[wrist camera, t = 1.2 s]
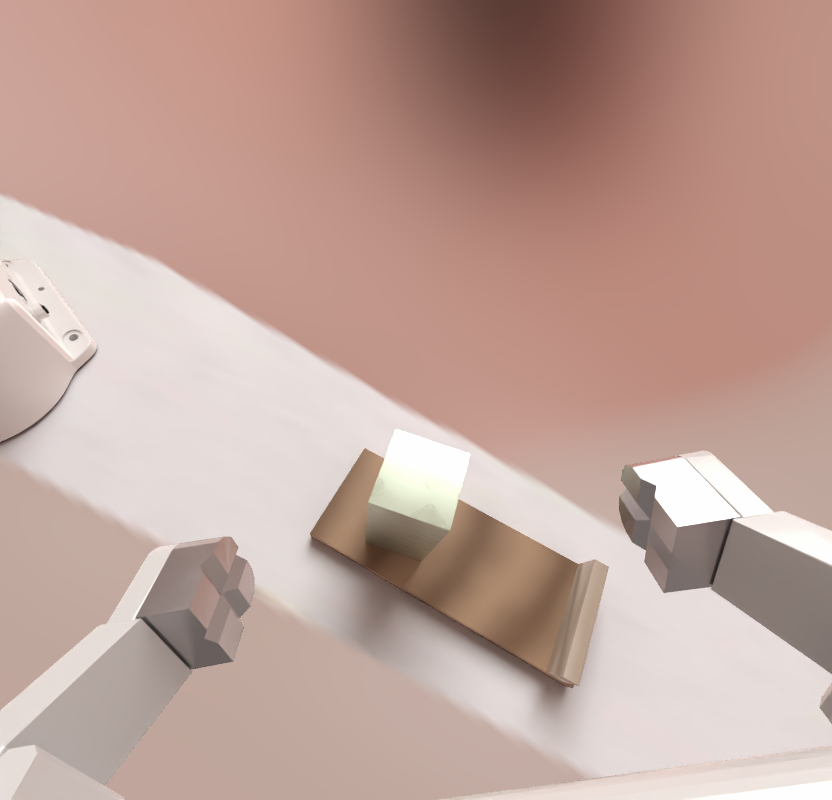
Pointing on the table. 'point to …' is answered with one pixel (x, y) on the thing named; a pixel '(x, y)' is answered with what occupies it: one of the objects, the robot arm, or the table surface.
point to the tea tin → (415, 495)
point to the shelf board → (480, 578)
